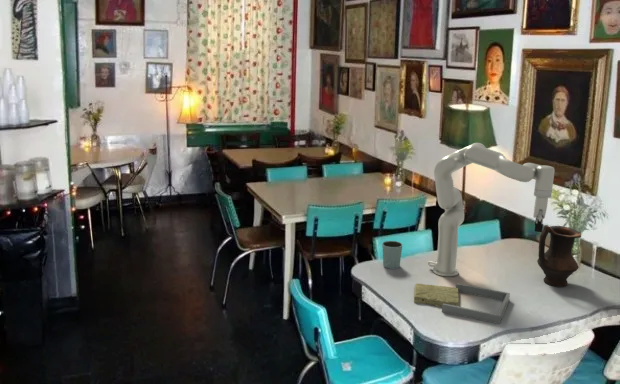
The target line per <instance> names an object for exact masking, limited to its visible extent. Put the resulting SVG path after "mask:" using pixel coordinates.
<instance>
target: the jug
mask: <svg viewBox="0 0 620 384" xmlns="http://www.w3.org/2000/svg"><path fill="white" fill-rule="evenodd" d="M543 226H544V227H543V228H542V232H540V235H539V241H538V255H537V256H538V259H537V261H536V262H537V264H538V266H539V268H540V269H541V270H542V272H543V274H544V278H543V282H544V283H545V284H547V285H549V286H551V287H557V288H564V287H567V286H568V285H569V284H568V278H569V277H570V276H571V275H573V274H574V273H575V272H576V271H577V270H578V269H579V268H580V267H579V265H578V262H577V260H576V259H575V258H574V256H573V253H572V251H573V246H574V244H575V243H574V242H575V239H578V238H581V237H582V233H581V232H579V231H578V230H576V229H573V228H571V227H568V226H565V225H564V226H562V225H548V224H545V225H543ZM548 234H549V236H550V237H549V239H550V241H549V245H548V249H547V250H546V249H545V247H546V239H547V237H548ZM545 250H546V251H545Z"/></svg>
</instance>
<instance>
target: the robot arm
mask: <svg viewBox="0 0 620 384" xmlns="http://www.w3.org/2000/svg"><path fill="white" fill-rule="evenodd" d="M472 164H475V165H477V166H478V165H479V166H481V167H484V168H487V169H489V170H493V171H495V172H496V173H498V174H500V175H502V176H504V177H506V178H509V179H511V180H515V181H518V182H522V183H527V182H528V183H529V182H531V181H532V180H534V179H535V182H534V190H533V196H534V197H535V199H534V200H535V201H534V206H533V207H534V208H533V218H535V220H534V221H535V222H534V232H535V233H542V231H543V229H544V227H543V226H544V219H545V218H546V214H547V209H548V202H549V198H552V195H553V194H552V193H553V187H554V178H555V167H553V166H550V165H544V164H543V165H541V164H537V163H533V162H526V163H523V164H521V163H518V162H515V161H512V160H510V159H508V158H507V157H506V156H505V155H504V154H503V153H501V152H499V151H496V150H493V149H490V148H487V147H486V146H485V145H484V144H483V143H480V142H474V143H472V144H469V145H468V146H465V147H463V148H461V149H459V150H457V151H454V152H451V153H450V154H448V155H446V156H444V157H443V158H441V159H439V161H438V162H437V163H436V165H435V166H434V169H433V175H434V182H435V183H434V184H435V190H436V191H435V192H436V196H437V197H436V199H437V203H438V206H439V207H440V208H441V209H443V210H444V212H443V213H442V214H441V215H440V217H439V219H438V225H437V226H438V228H437V229H438V240H437V253H436V261H431V260H428V263H427V265H428V266H429V267H433V268H432V272H433V274H435V275H438V276H442V277H455V276H457V275H458V274H459V269H458V268H456V267H457V256H458V255H457V254H458V243H459V227H460V225H462V224H463V222H464V221H465V210H464V205H463V203H464V202H463V197H462V193H461V191H460V190H459V189H458V188H457V187H455V185H454V180H453V177H452V174H453V173H455V172H457V171H458V170H460V169H462V168H464V167H466V166H468V165H469V166H470V165H472Z"/></svg>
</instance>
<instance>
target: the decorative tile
mask: <svg viewBox="0 0 620 384" xmlns="http://www.w3.org/2000/svg"><path fill="white" fill-rule="evenodd" d="M413 290H414V291H413V293H414V294H413V303H414V304H426V305H429V306H430V305H432V306H436V307H441V308H442V304H443V303H444V304H449V305H454V306H459V305H460V304H459V303H460V299H459V292H458V288H456V287H452V286H445V285H435V284H424V283H416V284H414V289H413ZM459 307H460V306H459Z"/></svg>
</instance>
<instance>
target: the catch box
mask: <svg viewBox="0 0 620 384" xmlns="http://www.w3.org/2000/svg"><path fill="white" fill-rule="evenodd" d="M455 288H458V293H464V294H470V295H473V296H474V295H475V296H479V297H485V298H490V299H493V300H494V299H495V300H500V301H503V302H502V304H501V305H500V308H499V311H498V313H492V312H488V311H483V310H477V309H472V308H467V307H462V306H454V305H449V304H444V303H443V304H442V307H441V313H445V314H448V315H449V314H451V315H456V316H460V317H465V318H468V319H469V318H470V319H472V320H473V319H475V320H478V321H483V322H489V323H493V324H498V325H499V324H500V323H501V321H502V318H503V316H504V314H505V312H506V309H507V307H508V304H509V303H510V297H511V293H510V292H505V291H500V290H494V289H489V288H484V287H481V286H480V287H479V286H473V285H469V284H464V283H463V284H462V283H458V282H456V284H455Z"/></svg>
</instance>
